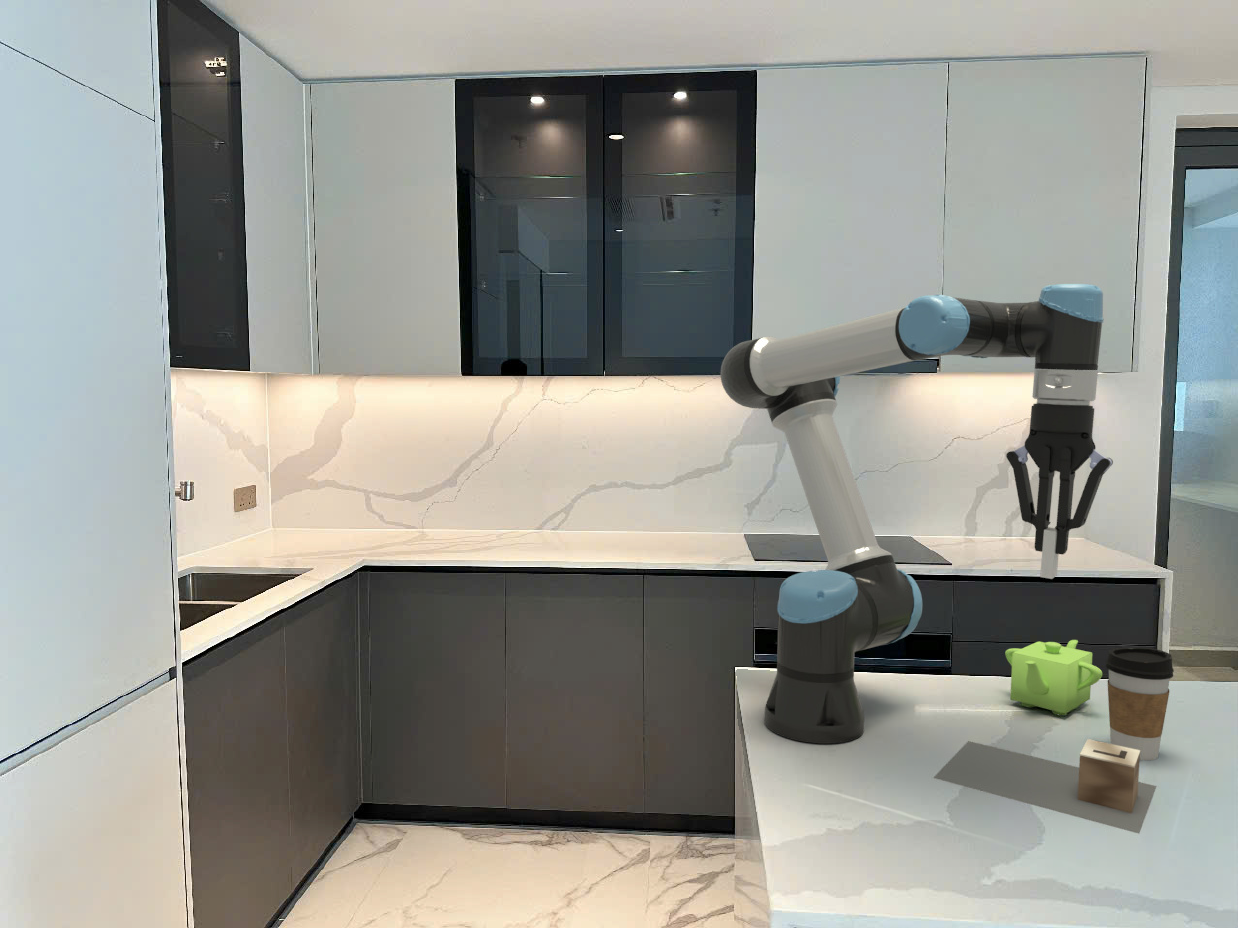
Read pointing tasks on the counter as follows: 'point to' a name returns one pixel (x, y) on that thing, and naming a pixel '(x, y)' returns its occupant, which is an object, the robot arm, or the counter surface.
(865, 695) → the counter surface
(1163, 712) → the coffee cup
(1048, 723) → the counter surface
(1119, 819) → the rubber mat
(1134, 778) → the walnut cube
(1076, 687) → the teapot
